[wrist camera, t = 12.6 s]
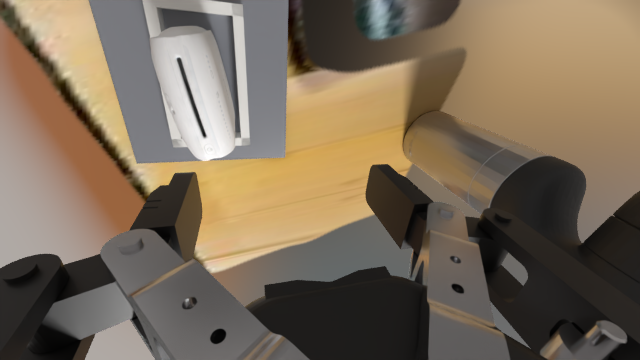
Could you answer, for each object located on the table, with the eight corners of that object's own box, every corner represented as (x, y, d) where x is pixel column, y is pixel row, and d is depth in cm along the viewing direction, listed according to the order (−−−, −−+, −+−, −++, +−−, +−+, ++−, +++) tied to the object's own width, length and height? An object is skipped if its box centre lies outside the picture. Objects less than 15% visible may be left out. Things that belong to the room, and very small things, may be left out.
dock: (286, -19, 27) (292, -24, 25) (284, 154, 37) (287, 163, 34) (78, -52, 22) (59, -62, 19) (139, 159, 32) (131, 171, 29)
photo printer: (238, 120, 32) (241, 164, 22) (202, 126, 31) (187, 175, 21) (214, 23, 26) (201, 21, 16) (169, 27, 25) (126, 27, 15)
